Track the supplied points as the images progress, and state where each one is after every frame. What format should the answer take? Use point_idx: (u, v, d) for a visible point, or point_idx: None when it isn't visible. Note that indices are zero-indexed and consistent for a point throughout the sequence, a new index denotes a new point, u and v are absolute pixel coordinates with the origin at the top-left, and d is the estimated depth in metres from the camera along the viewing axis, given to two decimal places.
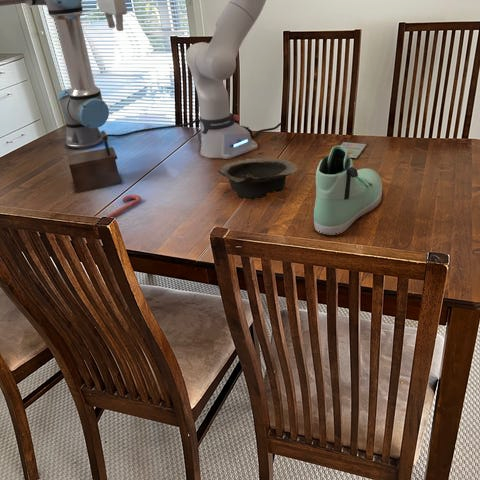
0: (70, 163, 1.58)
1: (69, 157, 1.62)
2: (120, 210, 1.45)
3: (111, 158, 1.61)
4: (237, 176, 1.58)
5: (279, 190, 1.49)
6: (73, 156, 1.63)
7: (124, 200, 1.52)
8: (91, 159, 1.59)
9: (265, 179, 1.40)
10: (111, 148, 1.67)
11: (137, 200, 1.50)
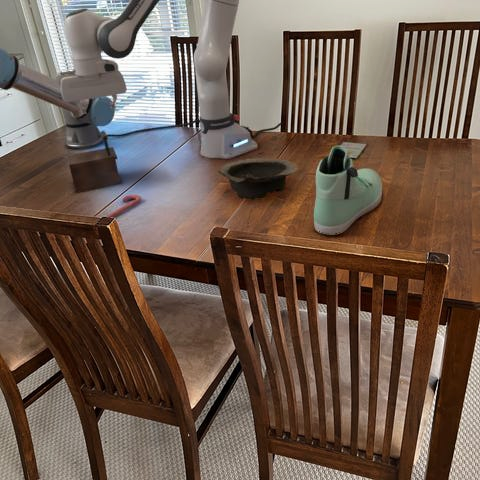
0: (70, 163, 1.58)
1: (69, 157, 1.62)
2: (120, 210, 1.45)
3: (111, 158, 1.61)
4: (237, 176, 1.58)
5: (279, 190, 1.49)
6: (73, 156, 1.63)
7: (124, 200, 1.52)
8: (91, 159, 1.59)
9: (265, 179, 1.40)
10: (111, 148, 1.67)
11: (137, 200, 1.50)
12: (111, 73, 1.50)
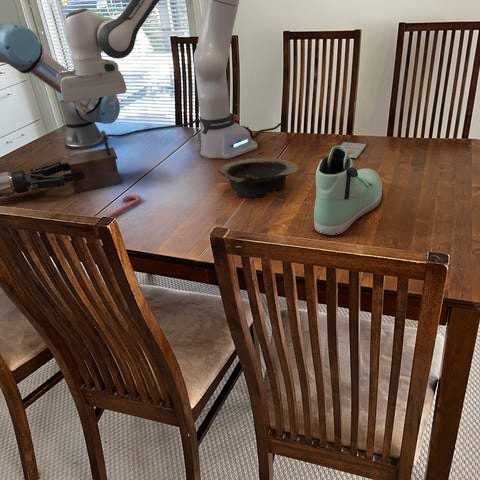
0: (70, 163, 1.57)
1: (69, 157, 1.62)
2: (120, 210, 1.45)
3: (111, 158, 1.61)
4: (237, 176, 1.58)
5: (279, 190, 1.49)
6: (73, 156, 1.63)
7: (124, 200, 1.52)
8: (91, 159, 1.59)
9: (265, 179, 1.40)
10: (111, 148, 1.67)
11: (137, 200, 1.50)
12: (111, 73, 1.50)
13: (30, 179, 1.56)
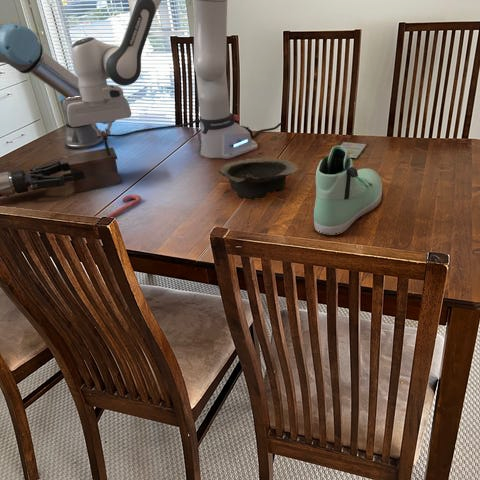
0: (70, 163, 1.57)
1: (69, 157, 1.62)
2: (120, 210, 1.45)
3: (111, 158, 1.60)
4: (237, 176, 1.58)
5: (279, 190, 1.49)
6: (73, 156, 1.63)
7: (124, 200, 1.52)
8: (91, 159, 1.59)
9: (265, 179, 1.40)
10: (111, 148, 1.67)
11: (137, 200, 1.50)
12: (116, 99, 1.54)
13: (30, 179, 1.56)
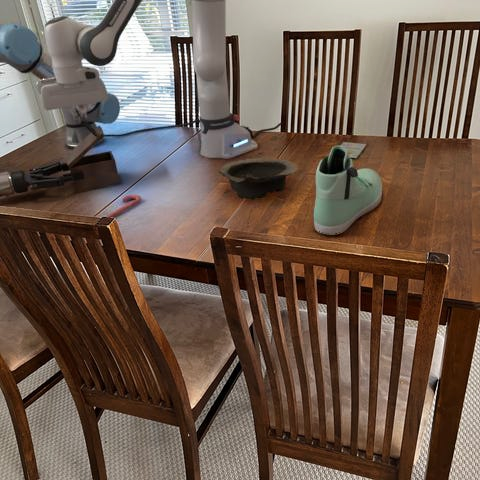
0: (68, 163, 1.57)
1: (67, 157, 1.62)
2: (120, 210, 1.45)
3: (99, 138, 1.56)
4: (237, 176, 1.58)
5: (279, 190, 1.49)
6: (70, 154, 1.62)
7: (124, 200, 1.52)
8: (83, 149, 1.57)
9: (265, 179, 1.40)
10: (98, 127, 1.62)
11: (137, 200, 1.50)
12: (92, 81, 1.49)
13: (29, 179, 1.56)
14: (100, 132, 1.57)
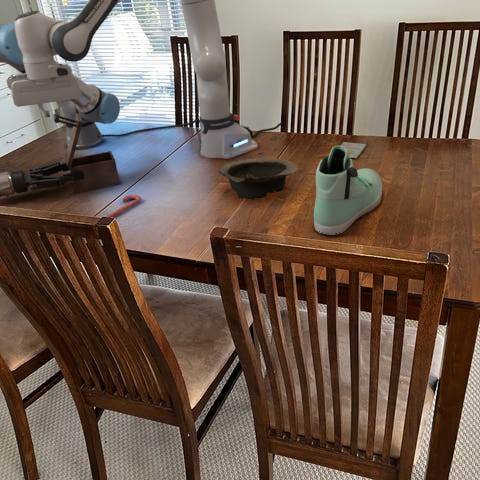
0: (67, 163, 1.57)
1: (66, 157, 1.62)
2: (120, 210, 1.45)
3: (79, 127, 1.52)
4: (237, 176, 1.58)
5: (279, 190, 1.49)
6: (67, 153, 1.62)
7: (124, 200, 1.52)
8: (72, 144, 1.55)
9: (265, 179, 1.40)
10: (76, 116, 1.58)
11: (137, 200, 1.50)
12: (64, 77, 1.46)
13: (29, 179, 1.56)
14: (77, 120, 1.53)
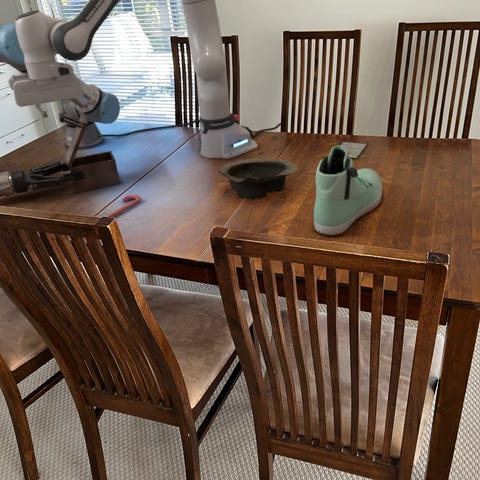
0: (67, 163, 1.57)
1: (66, 157, 1.62)
2: (120, 210, 1.45)
3: (83, 128, 1.53)
4: (237, 176, 1.58)
5: (279, 190, 1.49)
6: (67, 153, 1.62)
7: (124, 200, 1.52)
8: (74, 144, 1.55)
9: (265, 179, 1.40)
10: (80, 117, 1.59)
11: (137, 200, 1.50)
12: (66, 77, 1.46)
13: (30, 179, 1.56)
14: (82, 122, 1.54)
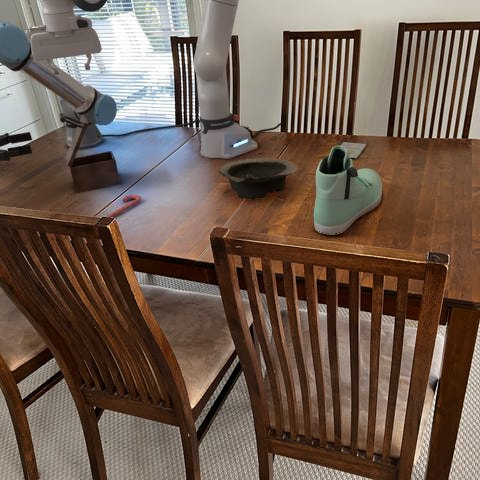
0: (67, 163, 1.57)
1: (66, 157, 1.62)
2: (120, 210, 1.45)
3: (84, 128, 1.53)
4: (237, 176, 1.58)
5: (279, 190, 1.49)
6: (68, 153, 1.62)
7: (124, 200, 1.52)
8: (75, 144, 1.55)
9: (265, 179, 1.40)
10: (81, 117, 1.59)
11: (137, 200, 1.50)
12: (84, 30, 1.42)
13: None
14: (83, 122, 1.54)
